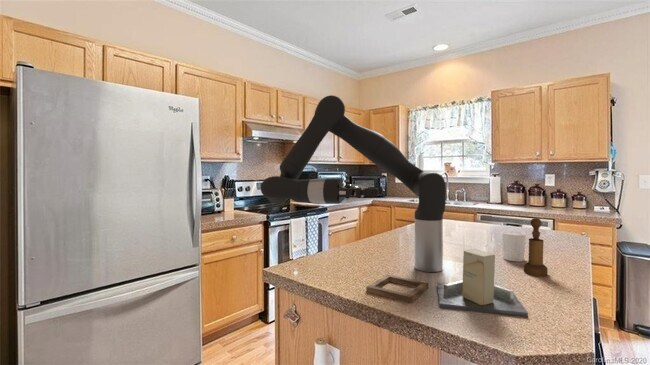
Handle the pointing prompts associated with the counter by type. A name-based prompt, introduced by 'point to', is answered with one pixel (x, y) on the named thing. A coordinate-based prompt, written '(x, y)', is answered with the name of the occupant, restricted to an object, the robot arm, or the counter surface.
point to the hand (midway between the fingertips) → (380, 191)
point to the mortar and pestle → (535, 252)
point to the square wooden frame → (408, 297)
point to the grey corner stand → (501, 304)
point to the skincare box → (478, 276)
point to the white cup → (513, 245)
